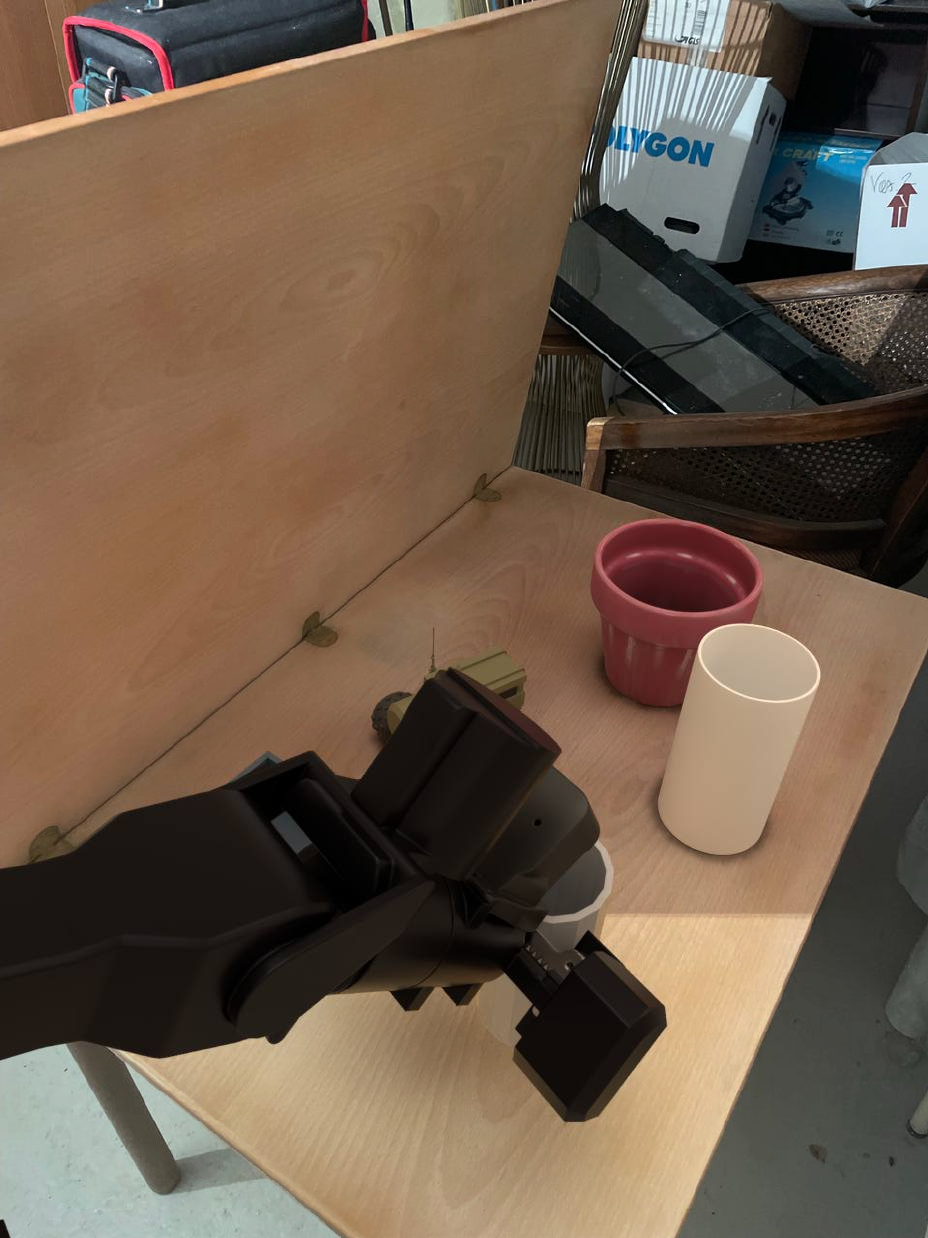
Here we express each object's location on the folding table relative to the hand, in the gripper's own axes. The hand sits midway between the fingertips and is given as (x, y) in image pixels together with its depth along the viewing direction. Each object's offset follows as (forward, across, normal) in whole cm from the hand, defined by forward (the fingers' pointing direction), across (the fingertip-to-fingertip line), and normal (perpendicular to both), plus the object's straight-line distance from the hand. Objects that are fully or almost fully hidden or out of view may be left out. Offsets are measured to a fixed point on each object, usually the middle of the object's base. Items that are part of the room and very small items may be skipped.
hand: (557, 923), depth 50 cm
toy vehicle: (+16, +22, 0) cm, 27 cm away
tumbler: (+4, 0, +6) cm, 7 cm away
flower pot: (+30, +18, -14) cm, 38 cm away
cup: (+24, +4, -8) cm, 25 cm away
